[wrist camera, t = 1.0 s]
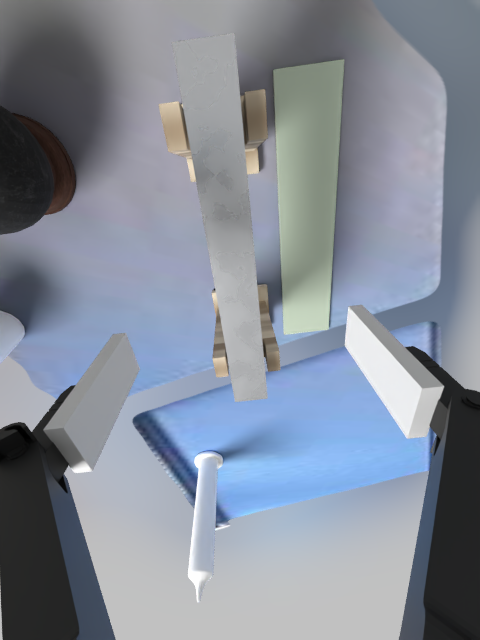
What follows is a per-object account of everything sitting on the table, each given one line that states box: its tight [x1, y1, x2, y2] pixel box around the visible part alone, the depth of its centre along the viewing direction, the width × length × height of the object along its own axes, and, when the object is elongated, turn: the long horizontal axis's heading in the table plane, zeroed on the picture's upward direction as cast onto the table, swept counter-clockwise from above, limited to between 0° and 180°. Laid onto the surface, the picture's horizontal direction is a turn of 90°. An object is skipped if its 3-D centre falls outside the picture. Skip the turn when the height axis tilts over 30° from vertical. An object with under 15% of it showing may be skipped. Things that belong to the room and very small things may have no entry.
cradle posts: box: [159, 89, 280, 377], centre depth 33 cm, size 32×9×15 cm, turn 7°
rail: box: [172, 33, 267, 402], centre depth 26 cm, size 32×4×5 cm, turn 7°
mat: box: [273, 59, 344, 335], centre depth 39 cm, size 36×8×1 cm, turn 7°
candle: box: [188, 451, 223, 603], centre depth 55 cm, size 7×7×25 cm
